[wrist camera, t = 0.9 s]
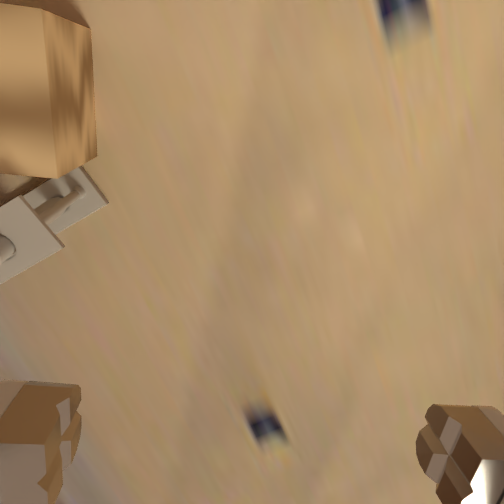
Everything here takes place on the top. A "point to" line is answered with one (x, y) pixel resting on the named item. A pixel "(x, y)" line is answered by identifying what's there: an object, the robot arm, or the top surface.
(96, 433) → the top surface
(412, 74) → the top surface
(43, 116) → the oak block
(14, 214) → the test tube rack
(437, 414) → the robot arm
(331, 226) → the top surface
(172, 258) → the top surface
